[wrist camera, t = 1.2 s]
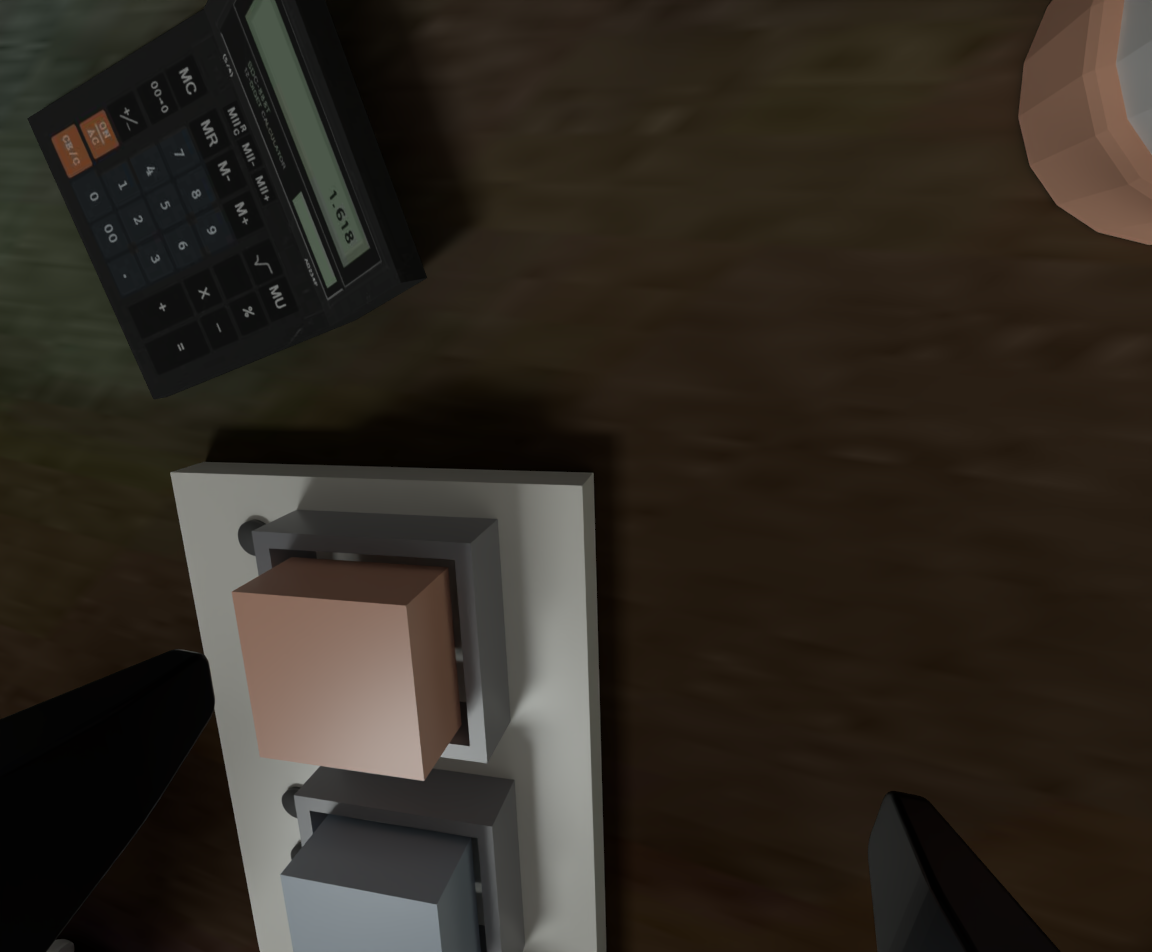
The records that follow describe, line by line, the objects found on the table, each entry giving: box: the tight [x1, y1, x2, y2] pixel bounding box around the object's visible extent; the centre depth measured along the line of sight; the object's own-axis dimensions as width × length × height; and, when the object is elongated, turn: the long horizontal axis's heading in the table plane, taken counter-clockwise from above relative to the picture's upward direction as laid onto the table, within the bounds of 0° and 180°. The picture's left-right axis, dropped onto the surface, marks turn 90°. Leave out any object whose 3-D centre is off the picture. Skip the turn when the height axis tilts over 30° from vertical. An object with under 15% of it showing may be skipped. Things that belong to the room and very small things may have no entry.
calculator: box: [27, 0, 427, 399], centre depth 20 cm, size 9×12×3 cm
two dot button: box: [280, 814, 481, 952], centre depth 21 cm, size 5×5×2 cm
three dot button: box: [232, 557, 462, 781], centre depth 19 cm, size 5×5×2 cm
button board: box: [170, 462, 607, 952], centre depth 24 cm, size 27×14×4 cm, turn 2°
